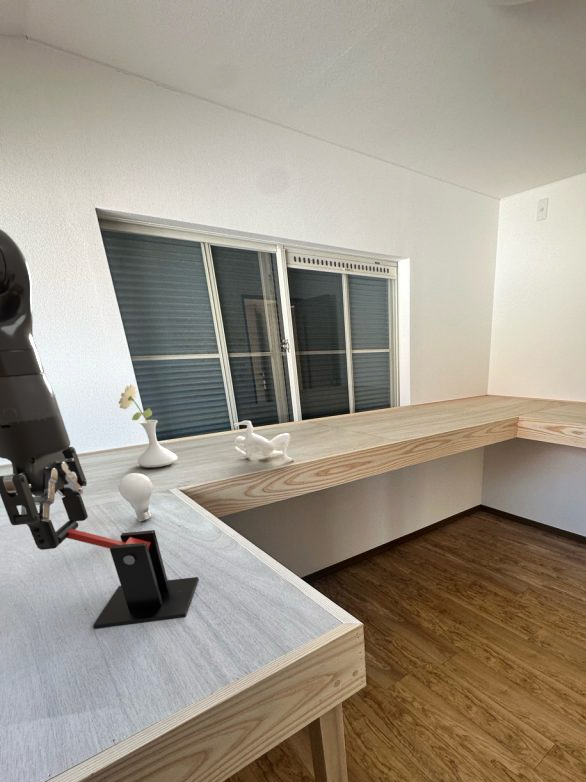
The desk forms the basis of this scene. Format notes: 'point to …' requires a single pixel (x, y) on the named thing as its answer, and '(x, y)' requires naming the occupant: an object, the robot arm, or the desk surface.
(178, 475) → the desk surface
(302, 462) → the desk surface
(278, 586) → the desk surface
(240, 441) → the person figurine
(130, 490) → the lightbulb
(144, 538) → the switch base
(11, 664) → the desk surface
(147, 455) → the flower in vase
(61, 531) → the switch lever
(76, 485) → the robot arm
